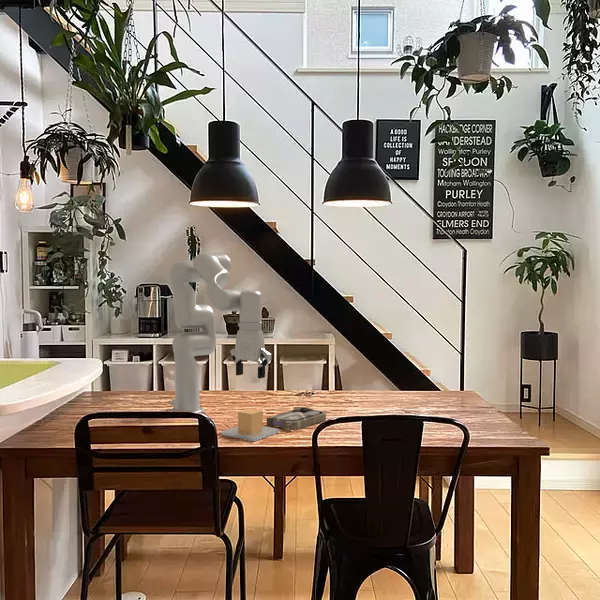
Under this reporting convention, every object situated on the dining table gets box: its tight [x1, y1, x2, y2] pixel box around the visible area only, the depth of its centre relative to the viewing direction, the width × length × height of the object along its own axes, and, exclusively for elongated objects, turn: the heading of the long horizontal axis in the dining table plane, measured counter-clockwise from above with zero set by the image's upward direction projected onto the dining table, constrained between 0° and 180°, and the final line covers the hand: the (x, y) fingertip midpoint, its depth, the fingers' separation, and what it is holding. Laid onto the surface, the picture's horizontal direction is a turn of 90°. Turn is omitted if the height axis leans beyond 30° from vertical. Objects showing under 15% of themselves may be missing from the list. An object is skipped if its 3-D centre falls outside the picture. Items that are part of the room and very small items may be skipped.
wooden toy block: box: [237, 408, 264, 433], centre depth 229 cm, size 6×6×6 cm
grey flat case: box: [266, 406, 327, 431], centre depth 248 cm, size 4×24×15 cm
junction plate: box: [221, 425, 280, 442], centre depth 229 cm, size 14×14×6 cm
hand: (250, 376), depth 228 cm, fingers open, 9 cm apart
